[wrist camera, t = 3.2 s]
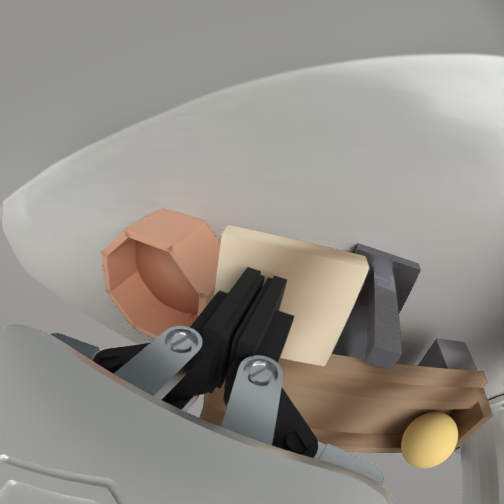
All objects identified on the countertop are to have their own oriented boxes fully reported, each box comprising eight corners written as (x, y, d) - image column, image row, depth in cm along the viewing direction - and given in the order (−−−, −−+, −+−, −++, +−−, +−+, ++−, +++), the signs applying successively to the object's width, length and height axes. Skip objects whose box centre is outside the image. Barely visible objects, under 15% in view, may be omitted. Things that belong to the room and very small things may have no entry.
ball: (458, 398, 15) (476, 444, 11) (428, 428, 17) (440, 471, 13) (415, 402, 15) (431, 456, 11) (386, 433, 17) (395, 481, 13)
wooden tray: (507, 270, 15) (559, 337, 8) (418, 401, 21) (430, 467, 15) (243, 199, 16) (202, 266, 10) (217, 370, 22) (192, 444, 16)
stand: (418, 263, 20) (440, 345, 12) (353, 383, 26) (339, 461, 19) (357, 243, 21) (351, 318, 13) (306, 369, 28) (282, 445, 20)
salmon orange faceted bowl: (239, 230, 24) (211, 258, 19) (224, 326, 29) (201, 360, 24) (136, 200, 26) (98, 219, 22) (139, 290, 31) (110, 316, 27)
